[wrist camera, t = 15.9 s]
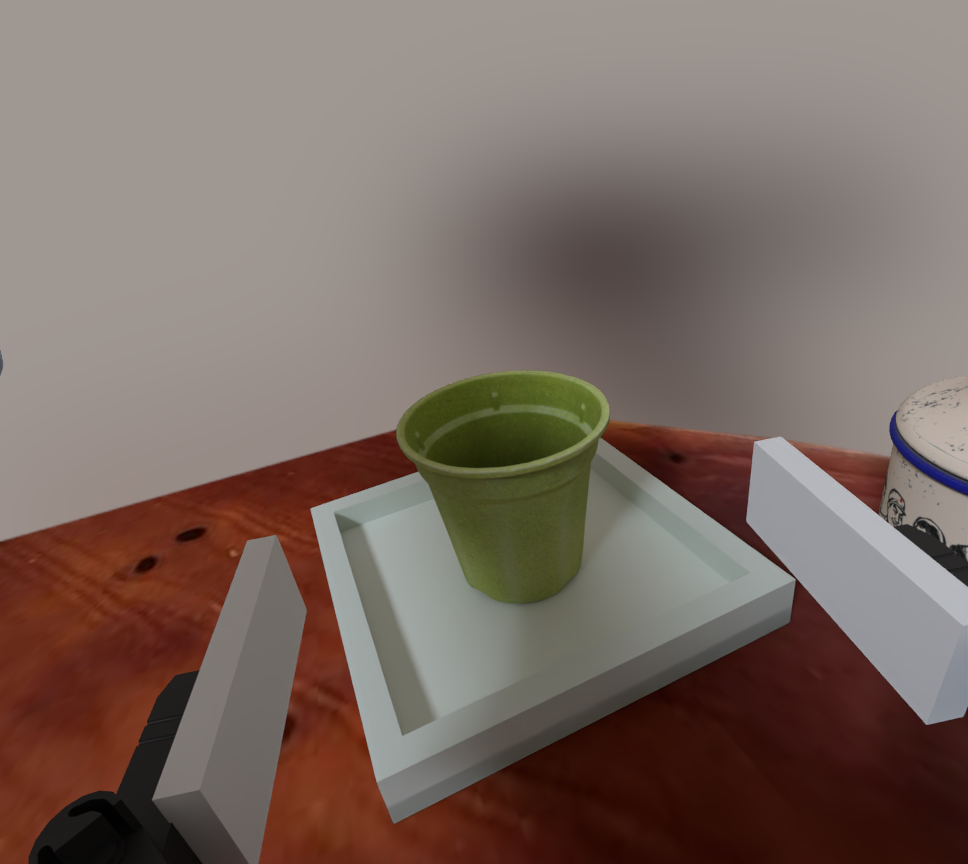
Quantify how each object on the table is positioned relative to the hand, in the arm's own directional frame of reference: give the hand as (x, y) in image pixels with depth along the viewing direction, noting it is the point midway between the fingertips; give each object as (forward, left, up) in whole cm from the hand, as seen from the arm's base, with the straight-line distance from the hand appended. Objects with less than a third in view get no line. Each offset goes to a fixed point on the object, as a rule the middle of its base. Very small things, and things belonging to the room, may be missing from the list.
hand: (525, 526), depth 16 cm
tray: (-10, +3, -11) cm, 15 cm away
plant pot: (-10, +3, -10) cm, 14 cm away
